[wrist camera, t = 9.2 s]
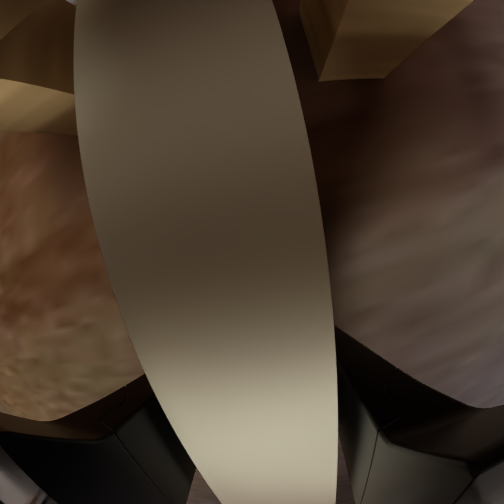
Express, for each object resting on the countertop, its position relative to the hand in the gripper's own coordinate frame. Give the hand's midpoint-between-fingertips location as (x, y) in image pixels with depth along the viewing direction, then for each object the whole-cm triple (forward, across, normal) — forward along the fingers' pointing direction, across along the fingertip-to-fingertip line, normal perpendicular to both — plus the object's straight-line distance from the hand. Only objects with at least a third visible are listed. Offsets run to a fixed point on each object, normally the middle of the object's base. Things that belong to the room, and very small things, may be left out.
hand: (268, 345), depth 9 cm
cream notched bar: (+1, 0, -3) cm, 3 cm away
